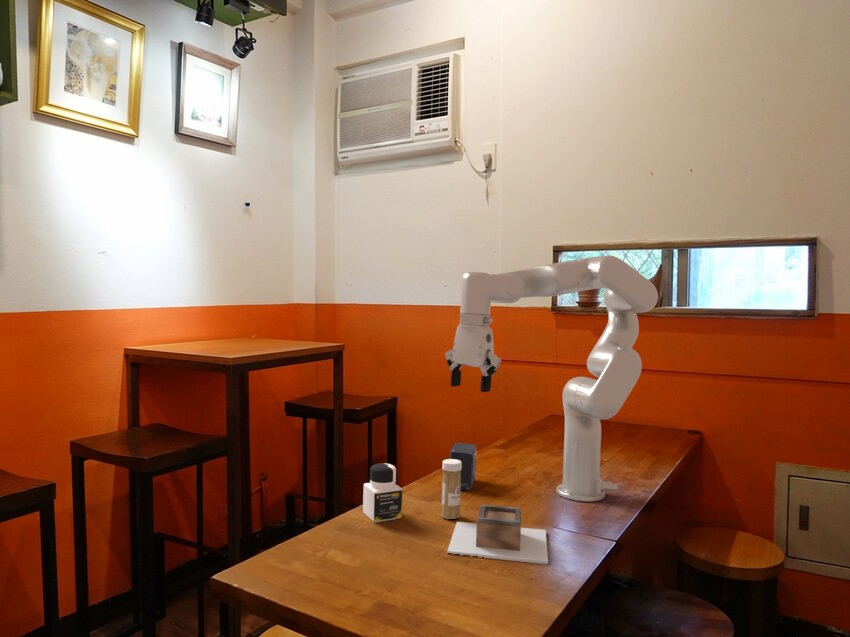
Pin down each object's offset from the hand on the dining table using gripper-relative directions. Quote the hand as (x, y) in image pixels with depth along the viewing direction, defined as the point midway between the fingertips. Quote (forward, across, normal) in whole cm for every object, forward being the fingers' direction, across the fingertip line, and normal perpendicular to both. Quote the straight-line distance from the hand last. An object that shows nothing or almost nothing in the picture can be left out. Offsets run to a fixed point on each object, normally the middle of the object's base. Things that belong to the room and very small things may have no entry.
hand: (470, 388), depth 147 cm
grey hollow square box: (+29, -21, +13) cm, 38 cm away
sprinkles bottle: (+30, -4, +9) cm, 31 cm away
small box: (+29, +10, -12) cm, 33 cm away
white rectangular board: (+29, -21, +13) cm, 38 cm away
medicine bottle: (+30, +8, +21) cm, 37 cm away
